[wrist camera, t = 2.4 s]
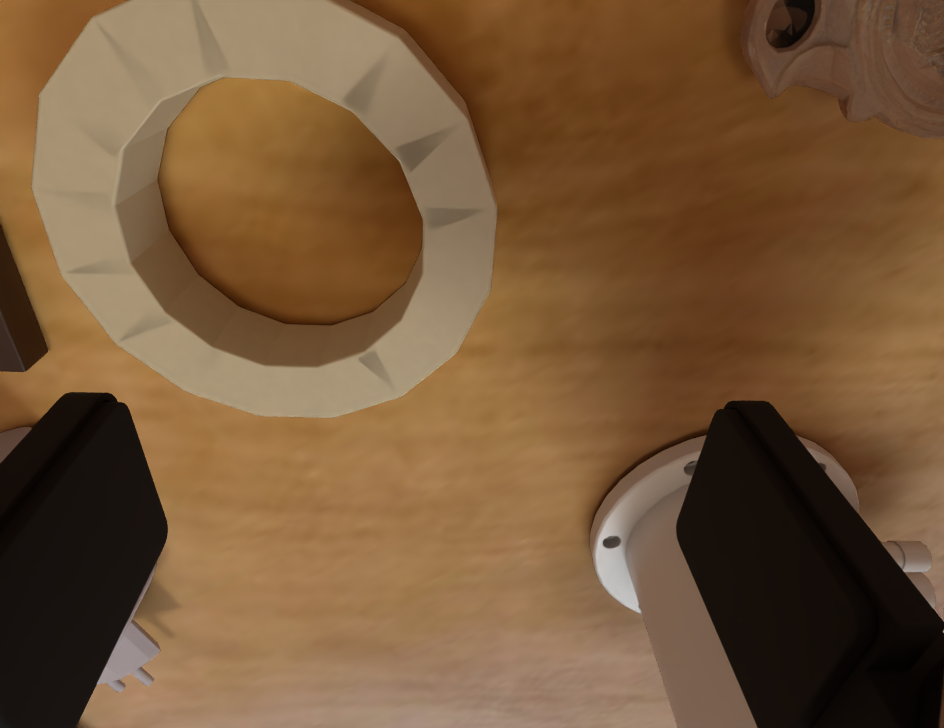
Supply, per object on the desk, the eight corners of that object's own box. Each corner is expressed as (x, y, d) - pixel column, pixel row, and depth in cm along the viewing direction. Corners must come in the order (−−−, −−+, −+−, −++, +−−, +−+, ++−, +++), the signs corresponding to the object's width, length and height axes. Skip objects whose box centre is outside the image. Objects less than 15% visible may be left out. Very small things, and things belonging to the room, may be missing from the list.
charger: (84, 658, 33) (-139, 474, 26) (229, 623, 32) (41, 418, 24) (35, 749, 29) (-248, 563, 21) (198, 713, 28) (-39, 502, 20)
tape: (505, -4, 17) (515, -4, 14) (476, 376, 24) (480, 422, 21) (28, -36, 16) (-50, -42, 14) (144, 367, 23) (106, 413, 21)
